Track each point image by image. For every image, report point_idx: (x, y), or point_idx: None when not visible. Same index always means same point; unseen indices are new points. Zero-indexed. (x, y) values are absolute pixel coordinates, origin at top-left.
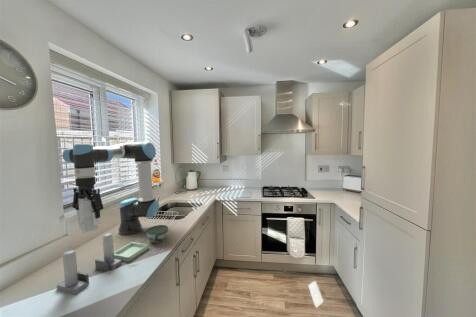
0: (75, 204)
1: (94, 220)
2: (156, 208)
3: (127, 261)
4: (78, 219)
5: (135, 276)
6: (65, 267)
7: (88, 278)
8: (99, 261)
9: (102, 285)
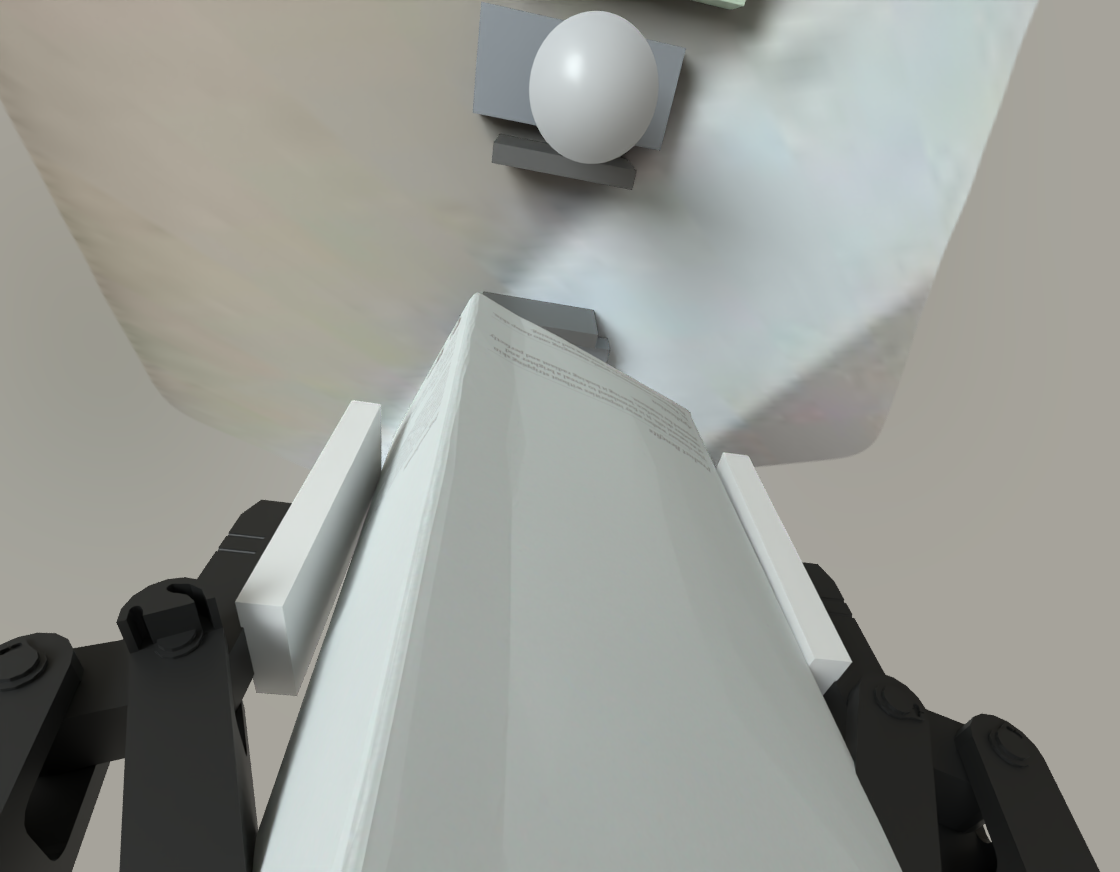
0: (75, 826)
1: None
2: None
3: (718, 6)
4: (360, 532)
5: (873, 212)
6: None
7: (595, 322)
8: (546, 172)
9: (694, 319)
